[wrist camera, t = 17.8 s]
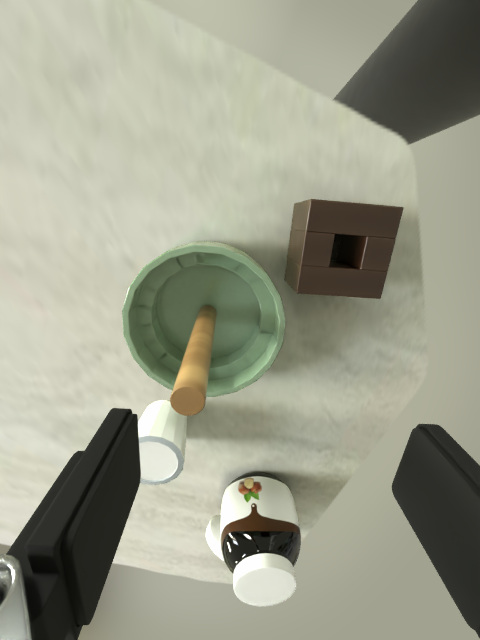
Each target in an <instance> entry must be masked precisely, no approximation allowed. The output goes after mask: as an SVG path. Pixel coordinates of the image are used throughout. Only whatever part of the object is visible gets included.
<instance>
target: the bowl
mask: <svg viewBox="0 0 480 640" xmlns="http://www.w3.org/2000/svg"><path fill="white" fill-rule="evenodd" d="M204 305H211V306H213V307H214V308H215V309H216V311H217V316H216V324H215V332H214V339H213V347H212V354H211V362H210V370H209V377H208V385H207V393H206V397H216V396H221V395H225V394H229V393H234V392H237V391H239V390H241V389H243V388H244V387H246V386H248V385H250V384H252V383H254V382H255V381H257V380H258V379H259V378H260V377H261V376H262V375H263V374H264V373H265V372H266V371H267V370H268V369H269V368H270V367H271V366H272V364H273V362H274V360H275V358H276V356H277V354H278V352H279V350H280V348H281V346H282V344H283V338H284V330H285V323H286V320H285V315H284V310H283V305H282V300H281V296H280V295H279V293H278V291H277V290H276V288H275V286H274V284H273V283H272V281H271V279H270V278H269V276H268V274H267V273H266V272H265V270H264V269H263V268H262V266H261V265H259V264H258V263H257V262H256V261H255V260H254V259H253V258H251V257H250V256H249V255H248V254H247V253H246V252H244V251H242V250H239V249H237V248H235V247H232V246H230V245H227V244H225V243H220V242H207V241H197V242H193V243H189V244H185V245H181V246H177V247H175V248H173V249H171V250H169V251H167V252H165V253H164V254H162V255H161V256H159V257H158V258H156V259H155V260H153V261H152V262H150V263H149V264H147V265H146V266H145V267H144V268H143V269H142V270H141V272H140V273H139V274H138V276H137V277H136V278H135V280H134V281H133V283H132V284H131V285H130V287H129V289H128V292H127V296H126V299H125V303H124V306H123V310H122V318H123V333H124V338H125V340H126V342H127V345H128V347H129V349H130V352H131V354H132V357H133V358H134V360H135V361H136V362H137V363H138V364H139V366H140V367H141V368H142V369H143V370H144V371H145V373H146V374H147V375H148V376H149V377H151V378H152V379H154V380H155V381H157V382H158V383H160V384H161V385H163V386H164V387H166V388H168V389H170V390H173V388H174V385H175V382H176V379H177V376H178V373H179V370H180V367H181V364H182V361H183V358H184V355H185V352H186V349H187V346H188V343H189V340H190V337H191V334H192V331H193V328H194V325H195V322H196V319H197V316H198V313H199V310H200V308H201V307H202V306H204Z"/></svg>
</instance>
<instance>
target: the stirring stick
mask: <svg viewBox="0 0 480 640" xmlns="http://www.w3.org/2000/svg"><path fill="white" fill-rule="evenodd" d="M216 316H217V311H216V309H215V308H214V307H213V306H211V305H204V306H202V307H201V308H200V310H199V313H198V316H197V319H196V322H195V325H194V328H193V331H192V334H191V337H190V340H189V343H188V346H187V349H186V352H185V355H184V358H183V361H182V364H181V367H180V370H179V373H178V376H177V379H176V382H175V385H174V388H173V391H172V394H171V397H170V404H171V406H172V408H173V409H174V410H175V411H176V412H177V413H179V414H181V415H185V416H191V415H195V414H197V413H199V412H200V411H201V410H202V409H203V408H204V406H205V400H206V393H207V385H208V377H209V370H210V362H211V354H212V347H213V339H214V332H215V324H216Z"/></svg>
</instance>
